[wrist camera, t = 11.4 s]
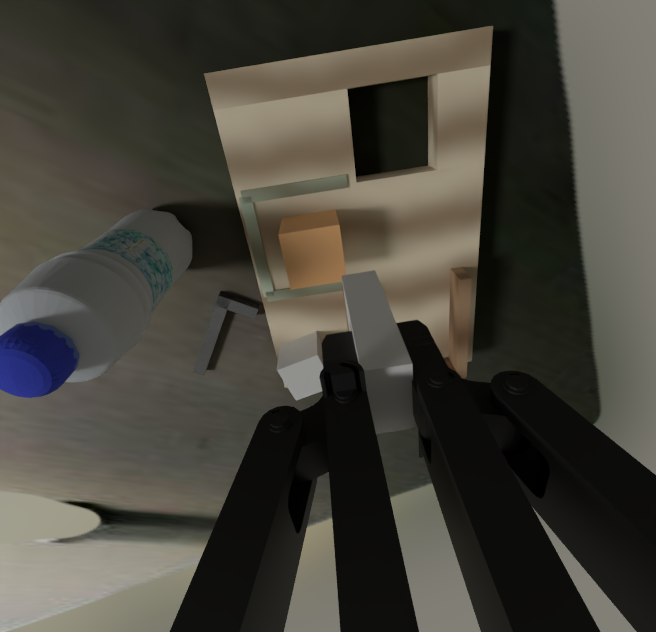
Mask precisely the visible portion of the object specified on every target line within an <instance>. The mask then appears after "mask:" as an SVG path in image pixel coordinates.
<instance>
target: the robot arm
mask: <svg viewBox="0 0 656 632" xmlns="http://www.w3.org/2000/svg"><path fill="white" fill-rule="evenodd" d="M342 283H343V290H344V297H345V304H346V311H347V318H348V325H349V331H347V332H341V333H335V334H328V335H326V336H325V338H324V340H323V342H322V343H321V344H322V358H323V369H322V371H321V372H320V377H319V378H320V383H321V387H322V392H323V396H322V398H321V399H320V400H319V401H318V402H317V403H316V404H314V405H313V406H311V407H309V408H307V409H305V410H302V411H299V410H297V409H296V408H294V407H290V406H280V407H276V408H274V409H271V410H269V411H268V412H267V413H266V414H264V415H263V416H262V418H261V419H260V421H259V423H258V425H257V427H256V430H255V432H254V434H253V437H252V439H251V441H250V444H249V446H248V449H247V451H246V453H245V456H244V458H243V460H242V463H241V465H240V467H239V470H238V472H237V474H236V477H235V479H234V482H233V484H232V486H231V489H230V491H229V493H228V496H227V498H226V500H225V503H224V505H223V507H222V510H221V512H220V514H219V517H218V519H217V522H216V524H215V526H214V529H213V531H212V533H211V536H210V538H209V540H208V543H207V545H206V547H205V550H204V552H203V555H202V557H201V559H200V562H199V564H198V566H197V569H196V571H195V573H194V576H193V578H192V581H191V583H190V585H189V588H188V590H187V592H186V595H185V597H184V599H183V602H182V604H181V606H180V609H179V611H178V613H177V616H176V618H175V621H174V623H173V625H172V628H171V630H170V632H284V628H285V623H286V619H287V614H288V609H289V605H290V600H291V596H292V592H293V587H294V583H295V578H296V574H297V569H298V565H299V560H300V556H301V551H302V546H303V542H304V537H305V533H306V528H307V524H308V519H309V515H310V510H311V506H312V501H313V497H314V492H315V488H316V483H317V477H319V476H321V475H323V474H325V473H327V472H329V478H330V492H331V506H332V519H333V532H334V547H335V559H336V574H337V588H338V601H339V616H340V630H341V632H419V630H418V626H417V621H416V616H415V611H414V607H413V602H412V598H411V594H410V589H409V584H408V579H407V575H406V570H405V566H404V561H403V556H402V552H401V547H400V543H399V538H398V533H397V528H396V524H395V519H394V515H393V510H392V506H391V501H390V496H389V492H388V487H387V482H386V478H385V473H384V468H383V464H382V459H381V455H380V450H379V445H378V441H377V436H376V434H379V433H386V432H392V431H399V430H406V429H413V428H415V421H416V424H417V427H418V435H419V458H420V457H423V456H424V459H425V462H426V465H427V468H428V471H429V474H430V477H431V480H432V483H433V486H434V489H435V492H436V495H437V498H438V501H439V505H440V508H441V511H442V514H443V517H444V520H445V523H446V526H447V529H448V532H449V535H450V538H451V541H452V544H453V547H454V550H455V553H456V556H457V559H458V562H459V566H460V568H461V572H462V575H463V578H464V581H465V584H466V587H467V590H468V593H469V596H470V599H471V602H472V605H473V609H474V612H475V615H476V618H477V621H478V624H479V627H480V630H481V632H600V630H599V629H598V627H597V625H596V623H595V621H594V619H593V618H592V616H591V614H590V612H589V610H588V608H587V607H586V605H585V603H584V601H583V599H582V597H581V596H580V594H579V592H578V590H577V588H576V586H575V585H574V583H573V581H572V579H571V578H570V575H569V574H568V572H567V570H566V568H565V566H564V564H563V563H562V561H561V559H560V557H559V555H558V553H557V552H556V550H555V548H554V546H553V545H552V543H551V541H550V539H549V537H548V535H547V534H546V532H545V530H544V528H543V526H542V525H541V522H540V521H539V519H538V517H537V515H536V513H535V512H534V510H533V508H534V509H535V510H536V512H537V513H538V514H539V515H540V516H541V517H542V519H543V520H544V521H545V522H546V524H547V525H548V526H549V527H550V528H551V529H552V531H553V532H554V533H555V534H556V535H557V537H558V538H559V539H560V540H561V542H562V543H563V544H564V545H565V546H566V547H567V549H568V550H569V551H570V552H571V553H572V555H573V556H574V557H575V558H576V560H577V561H578V562H579V563H580V564H581V566H582V567H583V568H584V569H585V570H586V571H587V573H588V574H589V575H590V576H591V577H592V579H593V580H594V581H595V582H596V583H597V584H598V586H599V587H600V588H601V589H602V590H603V592H604V593H605V594H606V595H607V597H608V598H609V599H610V600H611V601H612V603H613V604H614V605H615V606H616V607H617V608H618V610H619V611H620V612H621V613H622V614H623V616H624V617H625V618H626V619H627V621H628V622H629V623H630V624H631V625H632V627H633V628H634V629H635V630H636V631H637V632H656V475H655V474H654V473H652V472H651V471H650V470H648V469H647V468H646V467H645V466H643V465H642V464H641V463H640V462H638V461H637V460H636V459H635V458H634V457H632V456H631V455H630V454H629V453H627V452H626V451H625V450H624V449H622V448H621V447H620V446H619V445H617V444H616V443H615V442H614V441H613V440H611V439H610V438H609V437H608V436H606V435H605V434H604V433H603V432H601V431H600V430H599V429H598V428H596V427H595V426H594V425H593V424H591V423H590V422H589V421H588V420H586V419H585V418H584V417H583V416H582V415H580V414H579V413H578V412H577V411H575V410H574V409H573V408H572V407H570V406H569V405H568V404H567V403H565V402H564V401H563V400H562V399H560V398H559V397H558V396H557V395H555V394H554V393H553V392H552V391H550V390H549V389H548V388H547V387H545V386H544V385H543V384H542V383H541V382H539V381H538V380H537V379H535V378H534V377H532V376H530V375H529V374H526V373H522V372H519V371H504V372H500V373H498V374H497V375H495V376H494V377H493V379H492V380H491V383H486V382H475V381H469V380H465V379H462V378H461V376H460V375H459V374H458V373H457V372H456V371H454V370H452V369H450V368H449V367H448V366H447V364H446V362H445V360H444V358H443V356H442V354H441V352H440V350H439V348H438V347H437V345H436V343H435V341H434V339H433V337H432V336H431V333H430V331H429V329H428V327H427V326H426V325H424V324H423V323H422V322H420V321H419V320H412V321H406V322H399V323H396V321H395V319H394V316H393V314H392V311H391V309H390V306H389V304H388V301H387V299H386V296H385V294H384V291H383V289H382V286H381V284H380V281H379V279H378V276H377V274H376V271H375V270H373V271H367V272H361V273H355V274H348V275H342ZM532 507H533V508H532Z"/></svg>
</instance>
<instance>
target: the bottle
mask: <svg viewBox="0 0 656 632" xmlns="http://www.w3.org/2000/svg"><path fill="white" fill-rule="evenodd" d="M191 260H192V236H191V233H190V232H189V231H188V230H187V229H185V228H184V227H183V226H182V225H181V224H180V223H179V221H178V220H177V218H176V216H175V215H173V214H171V213H169V212H162V211H155V210H150V209H141V210H138V211H135V212H133V213H131V214H129V215H127V216H126V217H124V218H123V219H121V220H120V221H119V222H117V223H116V224H115V225H114V226H113V227H112V228H111V229H110V230H108V231H107V232H106V233H104V234H103V235H101V236H99V237H98V238H96V239H95V240H93V241H92V242H90V243H89V244H87V245H85V246H84V247H82V248H81V249H79V250H78V251H73V252H68V253H64V254H61V255H58V256H56V257H55V258H53V259H51V260H49V261H47V262H44V263H42V264H40V265H39V266H37V267H36V268H35V269H34V270H33V271H32V272H31V273H30V274H29V275H28V276H27V277H26V278H25V279H24V280H23V281H22V282H21V283H20V284H19V285H18V286H17V287H16V288H15V289H14V290H13V291H11V292H10V293H9V294H8V295H7V296H6V297H5V298H4V299H3V300H2V301H1V303H0V389H1V390H3V391H5V392H7V393H9V394H12V395H15V396H19V397H28V398H32V397H40V396H44V395H47V394H49V393H51V392H53V391H55V390H56V389H58V388H59V387H60V386H61V385H62V384H63V383H64V382H83V381H87V380H91V379H94V378H96V377H98V376H100V375H102V374H103V373H105V372H106V371H107V370H108V369H110V368H111V367H112V366H113V365H114V364H115V363H116V362H117V361H118V360H119V359H120V358H121V357H122V356H123V355H124V354H125V353H127V352H128V351H129V350H130V349H131V348H133V347H134V346H135V345H136V344H137V343H138V341H139V340H140V339H141V337H142V335H143V332H144V331H145V330H146V328H147V327H148V325H149V322H150V319H151V312H152V311H153V310H154V308H155V307H156V306H157V304H158V303H159V302H160V300H161V299H162V298H163V296H164V295H165V293H166V292H167V291H168V289H169V288H170V287H171V286H172V285H173V284H174V283H175V282H176V281H177V280H178V279H179V278H180V277H181V276H182V275H183V273H184V272H185V271H186V269H187V268H188V266H189V265H190V263H191Z"/></svg>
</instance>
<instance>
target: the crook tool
mask: <svg viewBox="0 0 656 632" xmlns="http://www.w3.org/2000/svg"><path fill="white" fill-rule="evenodd" d="M258 309H259V304H256V303H253V302H250V301H248V300H245V299H242V298H239V297H236V296H233V295H230V294H228V293H225V292H222V291H220V294H219V296H218V299H217V302H216V305H215V308H214V311H213V314H212V317H211V320H210V323H209V326H208V329H207V332H206V335H205V338H204V341H203V344H202V347H201V350H200V353H199V356H198V359H197V362H196V365H195V368H194V371H193V372H194V373H197V374H201V375H205V372H206V369H207V366H208V364H209V361H210V358H211V355H212V352H213V349H214V347H215V344H216V341H217V338H218V335H219V332H220V329H221V327H222V324H223V321H224V318H225V315H226V312H227V310H229V311H232V312H235V313H238V314H241V315H244V316H247V317H250V318H253V319H255V317H256V314H257V312H258Z"/></svg>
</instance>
